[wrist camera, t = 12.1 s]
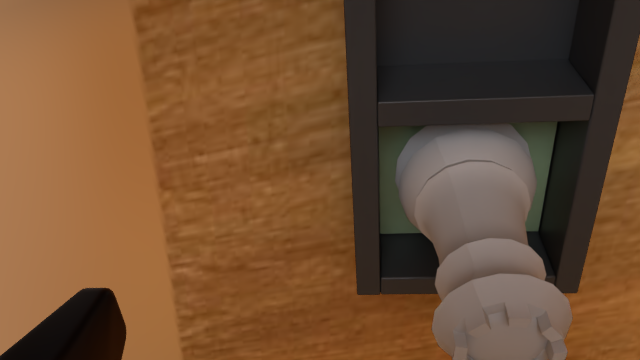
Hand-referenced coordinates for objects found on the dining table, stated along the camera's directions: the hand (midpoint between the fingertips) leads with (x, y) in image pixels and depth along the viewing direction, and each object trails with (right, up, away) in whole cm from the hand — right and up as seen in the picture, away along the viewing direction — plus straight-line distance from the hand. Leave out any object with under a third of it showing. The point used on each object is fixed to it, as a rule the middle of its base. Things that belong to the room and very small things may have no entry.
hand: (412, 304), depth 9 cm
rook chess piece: (+3, +2, +11) cm, 12 cm away
